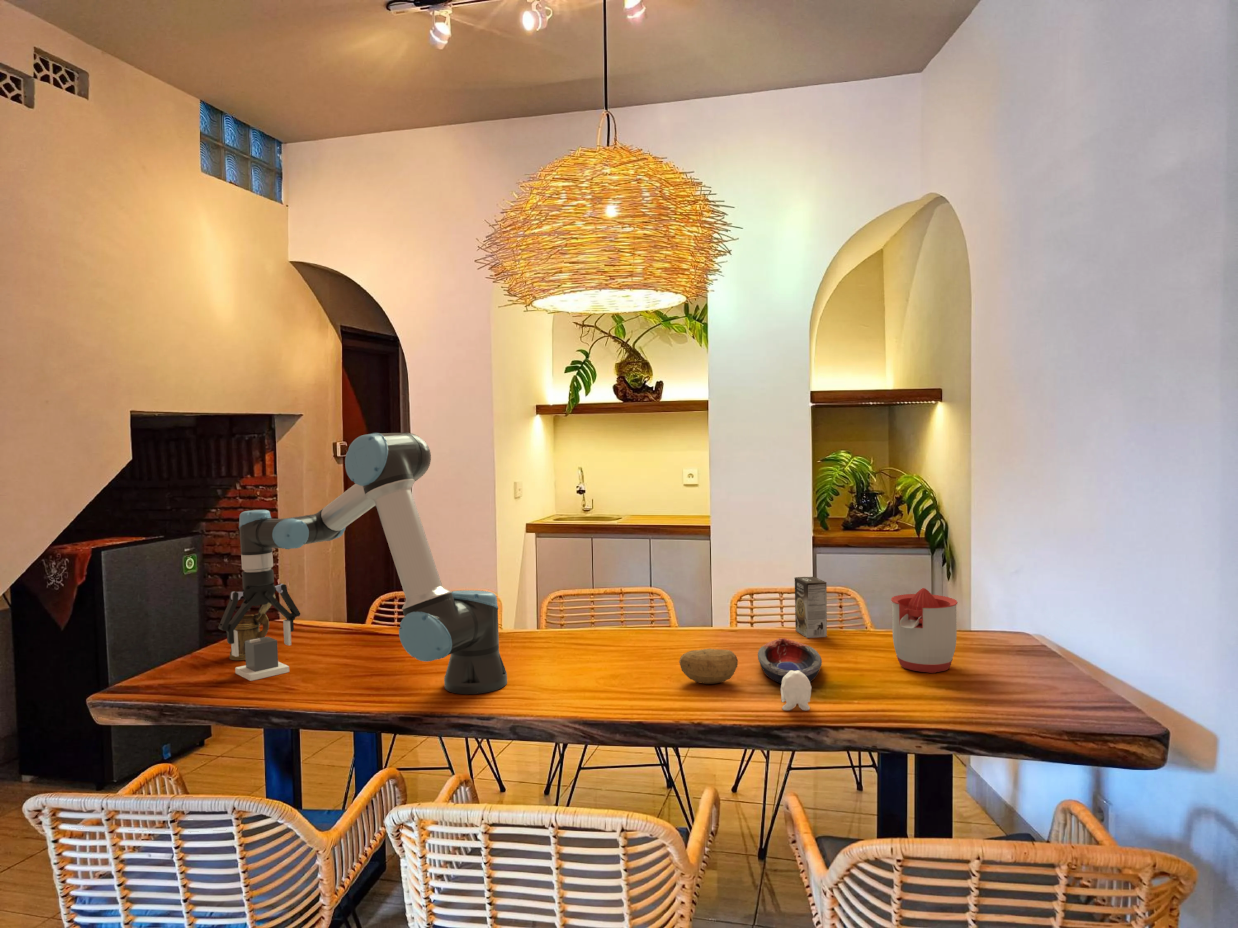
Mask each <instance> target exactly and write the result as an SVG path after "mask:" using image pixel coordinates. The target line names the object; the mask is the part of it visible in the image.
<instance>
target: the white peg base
mask: <svg viewBox="0 0 1238 928" xmlns="http://www.w3.org/2000/svg"><path fill="white" fill-rule="evenodd" d="M234 670H235V672H234V673H235V674H236V675H238V676H240V677H242V678H243V679H246V680H248V681H251V682H252V681H257V680H261V679H265V678H270V677H274V676H278V675H283V674H286V673H289V672H290V666H289V665H287V664H285V663H282V662H280V661H278V667H274V668H270V669H265V670H261V671H256V672H254V671H252V670H250V669H248V668H246V664H245V665H241V666H236V667H235V668H234Z"/></svg>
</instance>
